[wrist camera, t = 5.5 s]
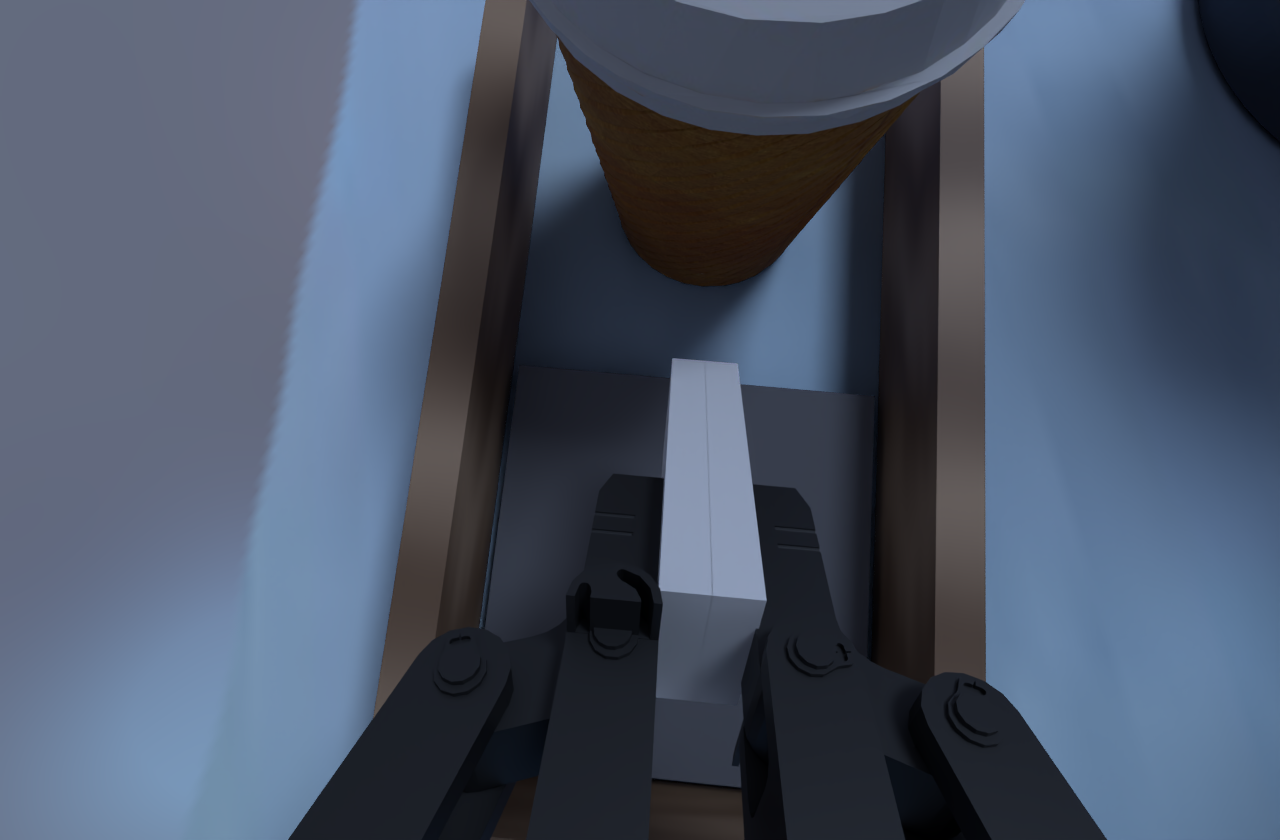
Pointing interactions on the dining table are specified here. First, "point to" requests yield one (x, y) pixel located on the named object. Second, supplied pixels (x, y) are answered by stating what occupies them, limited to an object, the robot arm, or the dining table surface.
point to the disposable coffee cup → (748, 109)
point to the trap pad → (633, 445)
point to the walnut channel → (907, 404)
